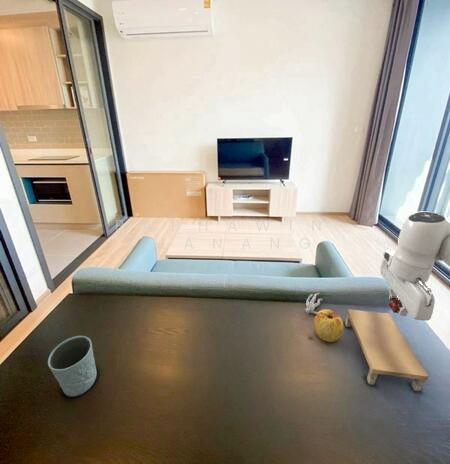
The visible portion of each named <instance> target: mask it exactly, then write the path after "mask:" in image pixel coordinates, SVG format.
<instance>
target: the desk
mask: <svg viewBox="0 0 450 464" xmlns="http://www.w3.org/2000/svg"><path fill="white" fill-rule="evenodd" d="M346 314H347V315H346V318H345V322H344V324H345V327H346V328H352V329H353V331H354V333H355V336H356V338H357V341H358V343H359V345H360V349H361V350H362V353H363V355H364V357H365V359H366V362H367V364H368V367H369V370H368V373H367V377H366V381H367V383H368V385H373V386H375V383H376V381H377V377H378V375H386V376H392V377H400V378H407V379H413V380H412V382H411V387H412V389H413V391H415V392H421V391H422V388H423V386H424V384H425V381H428V379H429V375H428V373H427V372H426V369H425V368H424V367H423V365H422V363H421V362H420V361H419V359H418V357H417V356H416V354H415V352H414V351H413V349H412V348H411V346H410V345H409V343H408V341H407V340H406V338H405V337H404V335H403V333H402V331H401V330H400V328H399V327H398V325H397V324H396V322H395V320H394V319H393V317H392V316H391V314H390V313H387V312H377V311H368V310H357V309H349V308H348V309H346Z"/></svg>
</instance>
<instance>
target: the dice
mask: <svg viewBox="0 0 450 464" xmlns="http://www.w3.org/2000/svg"><path fill="white" fill-rule="evenodd" d="M389 301H390V300H389ZM388 306H389V308H390V309H391V311H392V313H394V314H399V313H398V311H397V310H398V307H403V306H402V302H401V301H400V300H399V299H398V300H391V301H390V302H389V304H388Z"/></svg>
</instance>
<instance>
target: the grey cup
mask: <svg viewBox="0 0 450 464" xmlns="http://www.w3.org/2000/svg"><path fill="white" fill-rule="evenodd" d="M92 343H93V342H92V340H91V338H90V337H88V336H86V335H76V336H73V337H69V338H67V339H65V340H64V341H62V342H61V343H59V344H57V346H56V347H55V348H54V349H52V351H51V352H50V353H49V354H50V355H49V356H48V359H47V365H48V368H49V370H50V371H51V372H52V374H53V376H54V378H55V379H56V380H57V382H58V384H59V387H60V388H61V389H62V392H63V393H64V394H65V395H66V396H67V397H77V396H81V395H83V394H84V393H86V392H87V391H89V390H90V389H91V387H92V386H93V385H94V383H95V381H96V379H97V374H98V372H97V366H96V362H95V356H94V349H93V344H92Z"/></svg>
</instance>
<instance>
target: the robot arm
mask: <svg viewBox="0 0 450 464" xmlns="http://www.w3.org/2000/svg"><path fill="white" fill-rule="evenodd" d="M382 257H383V258H382V260H381V264H380V268H379V271H380V275H381V276H382V278H383V279H384V281H385V282H386V283H387V285H388V291H389V295H388V300H389V301H391V300H400V301H401V302H402V306H403V307H398V310H397V311H398V313H397V314H399V316H401V317H407V316H408V314H409V315H410V316H411V318H412V319H413V320H415V321H416V320H417V321H424V322H426V321H430V320H431V318H432V317H433V312H434V309H435V304H436V303H435V302H436V299H435V296H434V294H433V291H432V289H431V288H430V287H429V286H428V285H427V284H426V283H427V282H428V281H429V279H430V277H431V273H432V272H433V271H432V270H433V269H434V266H435V262H437V261H441V262H443V263H445V265H446V266H448V267H449V268H450V220H448V218H446V217H445V216H444V215H442V214H440V213H437V212H433V211H425V210H424V211H423V210H422V211H417V212H412V213H411V214H410V215H408V216H407V218H406V219H405V220H404V222H403V224H402V226H401V229H400V231H399V235H398V238H397V247H396V248H395V250H384V251H383V253H382Z"/></svg>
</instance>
